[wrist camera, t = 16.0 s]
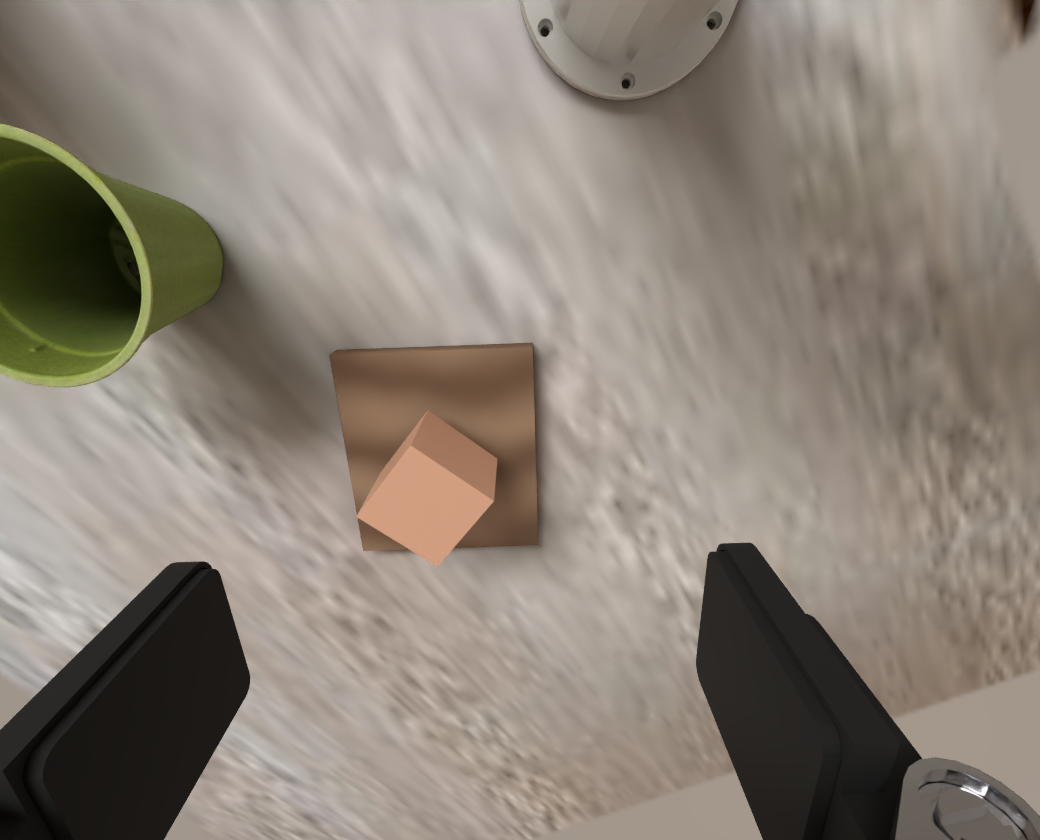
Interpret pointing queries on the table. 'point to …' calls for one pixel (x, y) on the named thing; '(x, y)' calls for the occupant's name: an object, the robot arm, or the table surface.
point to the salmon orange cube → (431, 490)
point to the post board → (458, 402)
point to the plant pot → (89, 264)
